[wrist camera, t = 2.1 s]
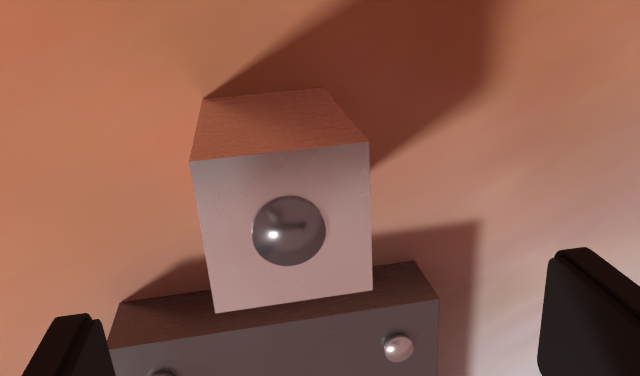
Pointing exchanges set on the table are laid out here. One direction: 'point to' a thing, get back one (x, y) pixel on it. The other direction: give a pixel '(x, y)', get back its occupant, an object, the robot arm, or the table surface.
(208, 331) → the gray square socket plate
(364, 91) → the table surface
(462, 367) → the table surface
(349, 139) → the cube with chrome dome
